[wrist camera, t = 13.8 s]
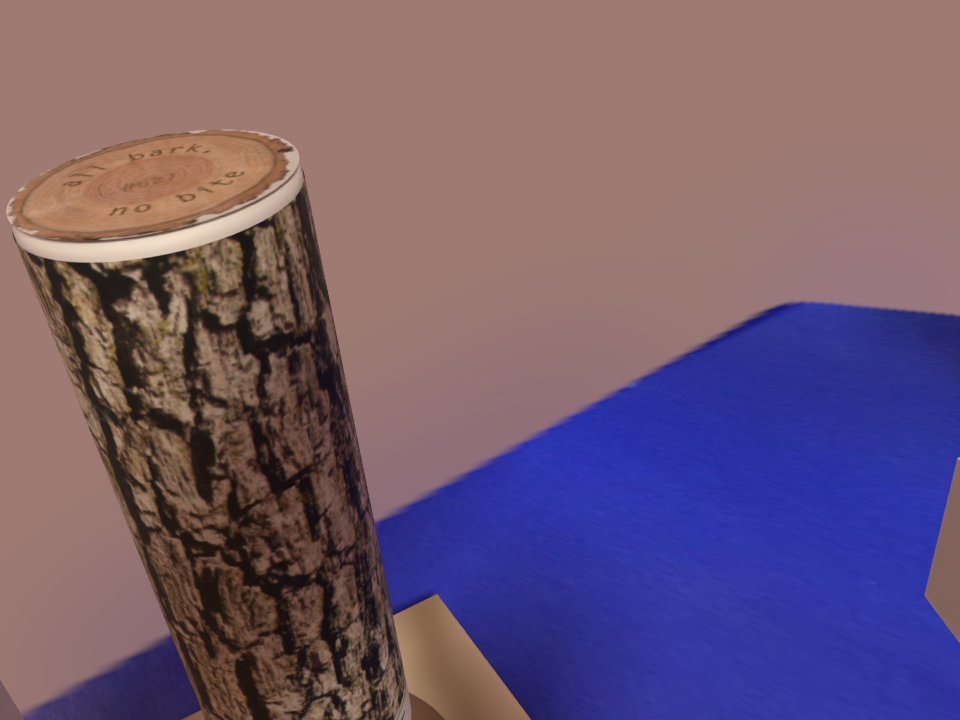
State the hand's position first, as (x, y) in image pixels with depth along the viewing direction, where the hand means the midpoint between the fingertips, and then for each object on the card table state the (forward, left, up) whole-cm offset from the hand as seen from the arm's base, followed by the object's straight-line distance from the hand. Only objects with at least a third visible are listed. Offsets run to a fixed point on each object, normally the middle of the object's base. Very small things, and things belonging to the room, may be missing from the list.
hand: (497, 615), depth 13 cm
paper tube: (+1, -14, -23) cm, 27 cm away
